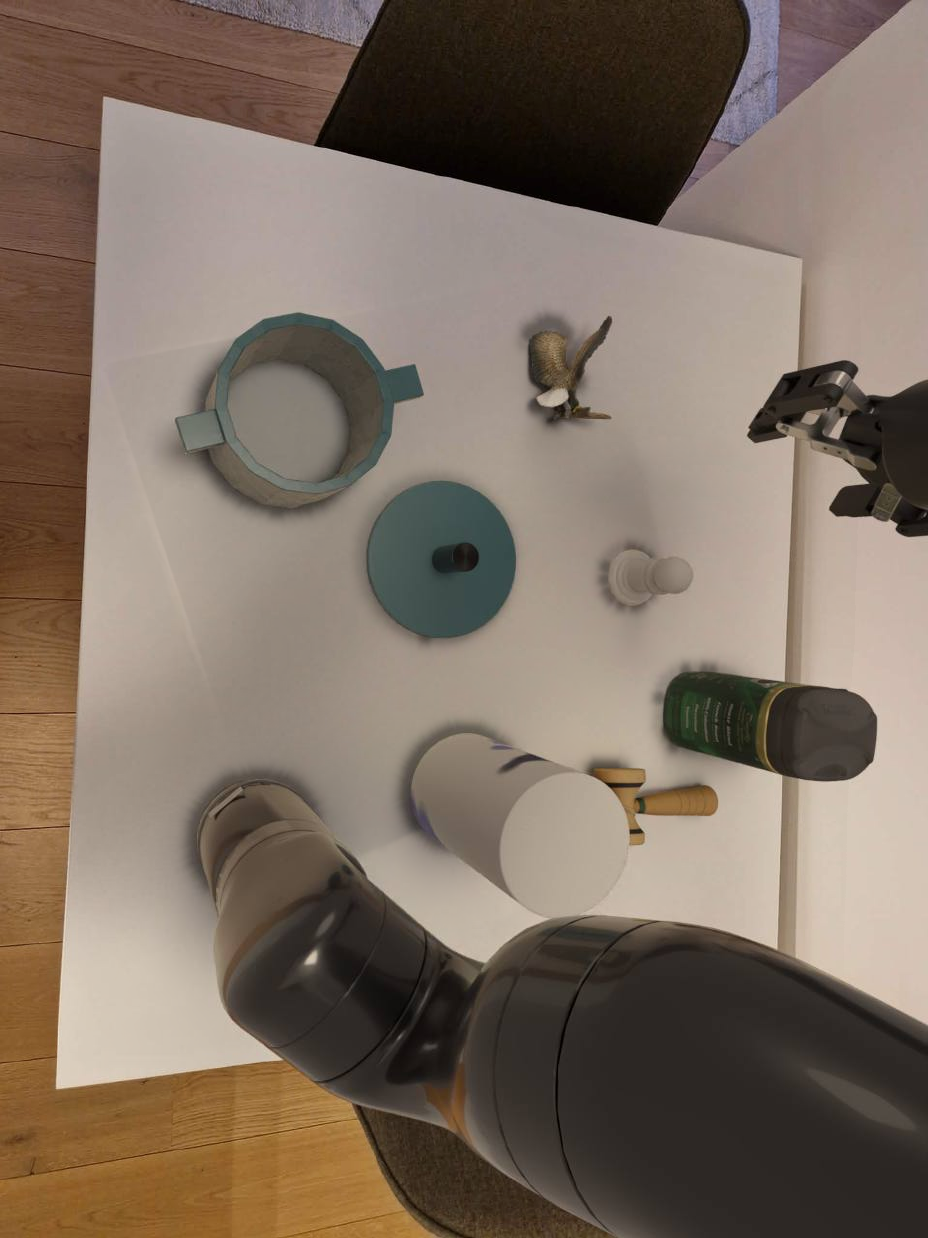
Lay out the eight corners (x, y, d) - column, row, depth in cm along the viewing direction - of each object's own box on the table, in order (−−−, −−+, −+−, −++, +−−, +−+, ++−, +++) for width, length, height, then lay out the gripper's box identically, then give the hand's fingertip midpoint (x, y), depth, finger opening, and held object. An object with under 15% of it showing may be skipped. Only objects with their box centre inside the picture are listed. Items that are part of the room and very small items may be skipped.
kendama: (689, 748, 89) (541, 757, 80) (736, 771, 84) (582, 782, 75) (677, 821, 90) (529, 837, 81) (721, 847, 85) (569, 867, 76)
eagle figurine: (613, 419, 82) (616, 318, 80) (610, 419, 75) (613, 308, 73) (531, 419, 84) (533, 320, 82) (521, 420, 77) (522, 311, 75)
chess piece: (596, 589, 83) (649, 588, 75) (619, 539, 84) (674, 533, 76) (639, 615, 85) (696, 617, 77) (661, 566, 86) (720, 563, 77)
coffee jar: (656, 749, 86) (791, 787, 69) (662, 668, 86) (798, 686, 69) (737, 751, 90) (885, 787, 72) (743, 673, 90) (892, 691, 72)
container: (518, 734, 81) (637, 775, 62) (508, 844, 80) (624, 917, 62) (414, 729, 77) (508, 771, 58) (403, 844, 77) (494, 922, 58)
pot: (404, 477, 76) (446, 459, 66) (198, 534, 70) (210, 523, 60) (362, 332, 75) (398, 292, 65) (147, 377, 69) (151, 340, 59)
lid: (527, 610, 81) (559, 611, 75) (391, 658, 76) (413, 662, 70) (487, 465, 79) (516, 455, 73) (345, 505, 74) (363, 497, 69)
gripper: (879, 407, 44) (698, 446, 60) (1047, 570, 48) (837, 567, 64) (951, 290, 45) (755, 358, 60) (1110, 459, 49) (888, 483, 65)
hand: (797, 465), depth 62 cm, fingers open, 8 cm apart
